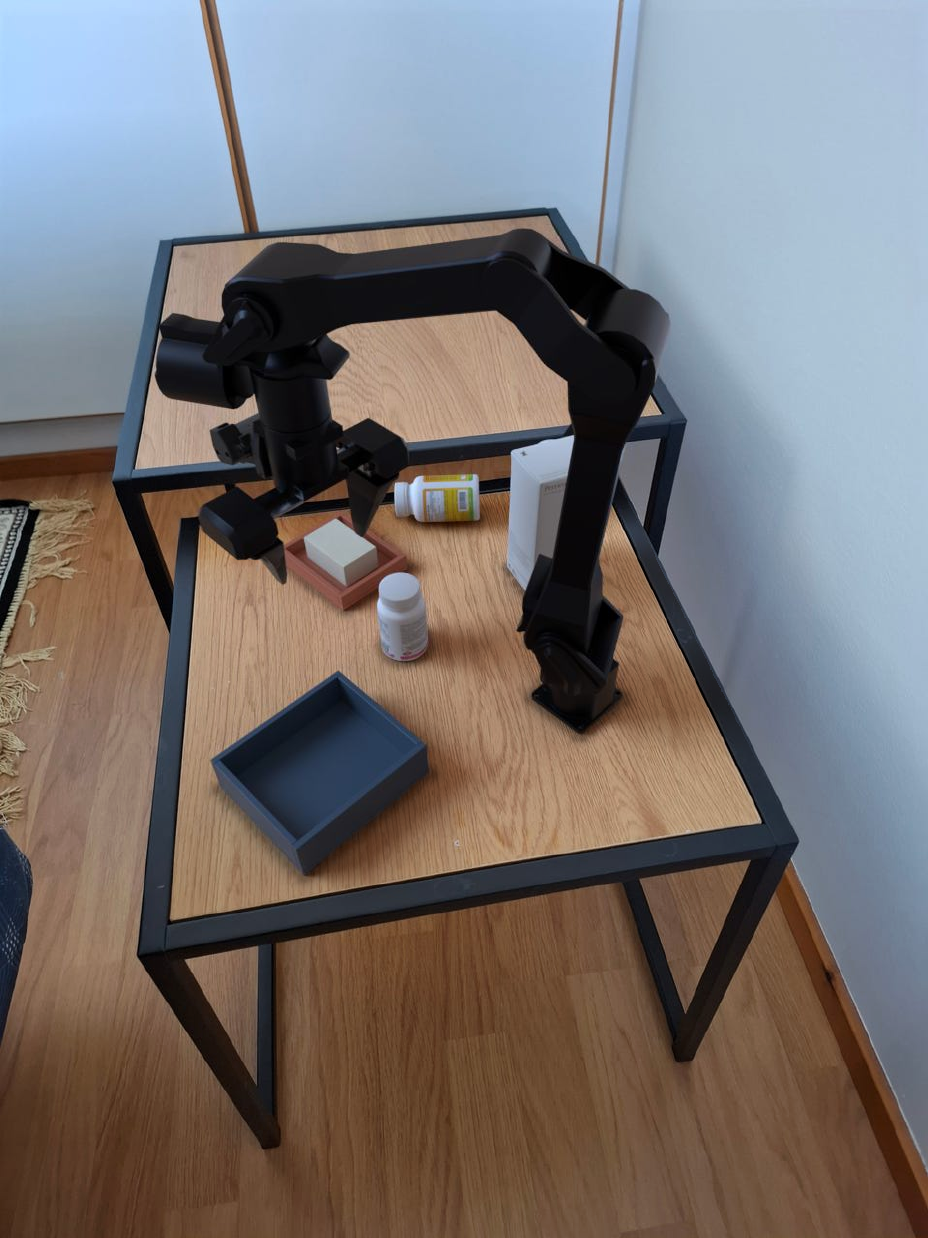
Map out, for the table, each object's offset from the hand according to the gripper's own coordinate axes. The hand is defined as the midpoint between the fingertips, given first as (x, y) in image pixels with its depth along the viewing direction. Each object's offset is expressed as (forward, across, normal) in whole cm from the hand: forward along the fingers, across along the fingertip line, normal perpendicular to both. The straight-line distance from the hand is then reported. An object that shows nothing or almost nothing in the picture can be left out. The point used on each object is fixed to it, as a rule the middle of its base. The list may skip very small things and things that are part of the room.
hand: (321, 557), depth 81 cm
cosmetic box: (+12, -23, +8) cm, 28 cm away
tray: (+12, -8, -9) cm, 17 cm away
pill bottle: (+12, -5, +5) cm, 14 cm away
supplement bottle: (+9, -25, -4) cm, 27 cm away
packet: (+11, -8, -9) cm, 16 cm away
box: (+12, +11, +12) cm, 20 cm away
